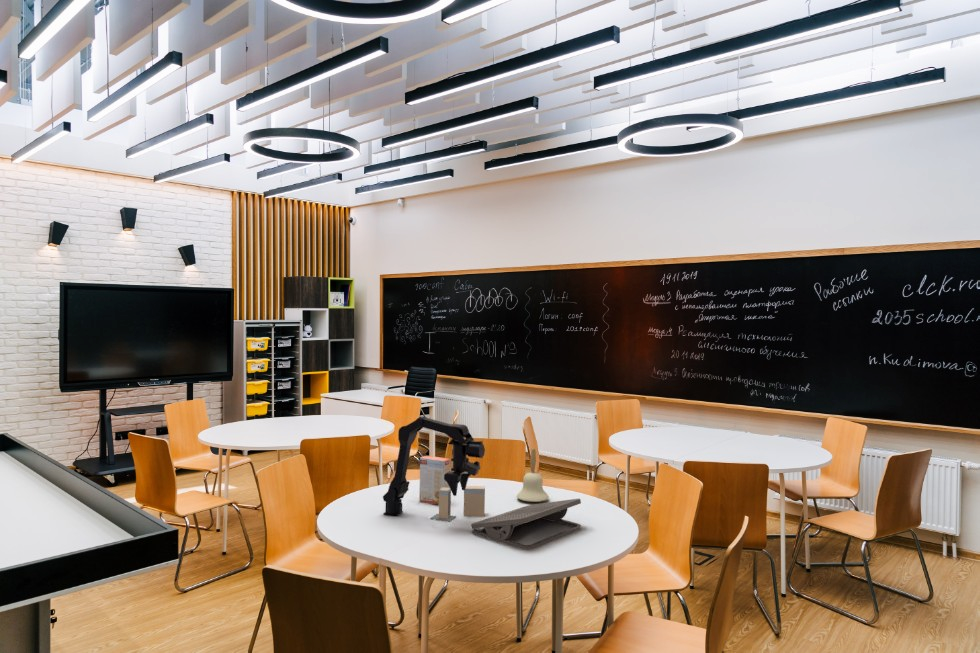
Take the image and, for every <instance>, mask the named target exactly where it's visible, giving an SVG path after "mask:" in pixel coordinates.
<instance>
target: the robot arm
mask: <svg viewBox="0 0 980 653" xmlns="http://www.w3.org/2000/svg"><path fill="white" fill-rule="evenodd" d="M423 428H424V429H427V430H431V431H434V432H439V433H440V434H444V435H446V436H448V437H449V438H451V440H450V441H449V442H448V443H447V444H448V445H452V458H450V459H451V462H452V467H450V471H449V472H447V473H446V474H445V475H444V480H446V481H447V483H448V485H449V487H450V489H451V493H452V495H453V496H454V497H456V496H457V493H458V488H459V486H458V485H459V483H460V487H461V490H462V491H464V490H465V488H466V486H468V485H467V484H468V481H469V477H471V476H476V475H478V474H479V471H480V470H481V465H480V464H481V463H480V461H479V460H475V461H473V462H471V461H470V459H469V457H470V458H478V459H483V457H484V456H485V453H486V451H485V450H486V448H485V446H484V443H483V440H474V438H473V436H472V434H471V433H470V431H469V427H468V426H467V425H466V424H462V423H461V424H459V423H458V424H457V423H453V424H451V423H447V422H443V421H440V420H436V419H433V418H428V417H426V416H420V417H417V418H416V419H415V420H414V421H412V422H410V423H408V424H407V425H402V426H401V427H399V429H398V434H397V435H398V442H399V450H398V455H397V460H396V461H397V462H396V465H395V470H394V472H395V473H394V476H393V478H392V480H391V481H390V482H389V486H388V490H387V492H386V493H384V495H382V499H383V502H385V508H384V510H385V512H383V515H384V516H390V517H391V516H393V517H397V516H399V515H401V514H403V513H404V511H403V502H402V500H403V499H404V496H405V495H406V493H407V492H408V491H409V486H410V481H407V472H408V466H409V460H410V454H411V449H412V445H413V444H414V442H415V440H416V437H417V435H418V432H419V431H421V430H422V429H423Z"/></svg>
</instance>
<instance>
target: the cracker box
mask: <svg viewBox="0 0 980 653" xmlns="http://www.w3.org/2000/svg"><path fill="white" fill-rule="evenodd" d="M451 462H452V461H451V458H446V457H441V456H440V457H438V456H433V455H423V456H420V458H419V498H418V499H419V502H421V501H422V503H426V502H427V503H426V504H431V503H432V505H436V504H437V506H439V490H440V489H441V488H442V487H443V488H450V487H449V485H448V483H447V481H446V480H444V475H445V474H446V473H447V472H449V471H451Z"/></svg>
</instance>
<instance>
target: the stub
mask: <svg viewBox="0 0 980 653" xmlns="http://www.w3.org/2000/svg"><path fill="white" fill-rule="evenodd" d="M451 493H452V491H451V489H450V488H443V487H442V488H441V489H440V490H439V505H438V514H439V518H444V519H448V518H449V517H450V515H451V513H452V512H451V506H452V505H451V503H452V494H451ZM451 516H452V515H451Z"/></svg>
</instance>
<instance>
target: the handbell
mask: <svg viewBox="0 0 980 653" xmlns="http://www.w3.org/2000/svg"><path fill="white" fill-rule="evenodd" d="M536 453H537V452H536V448H535V447H532V448H531V450H530V470H531V471H530V472H527V473H526V474H525V475H524V476H523V479H522V484H523V485H522V489H521V490H520V491H519V492H518V493H517V494H516V498H517V499H519V500H521V501H523V502H524V501H525V502H534V503H535V502H536V503H537V502H544V501H547V500H548V499H549V494H548V493H547V492H546V491H545V490H544V487H543V477H542V475H541V474H540V473H538V472H535V470H536V463H537V461H536V460H537V455H536Z"/></svg>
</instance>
